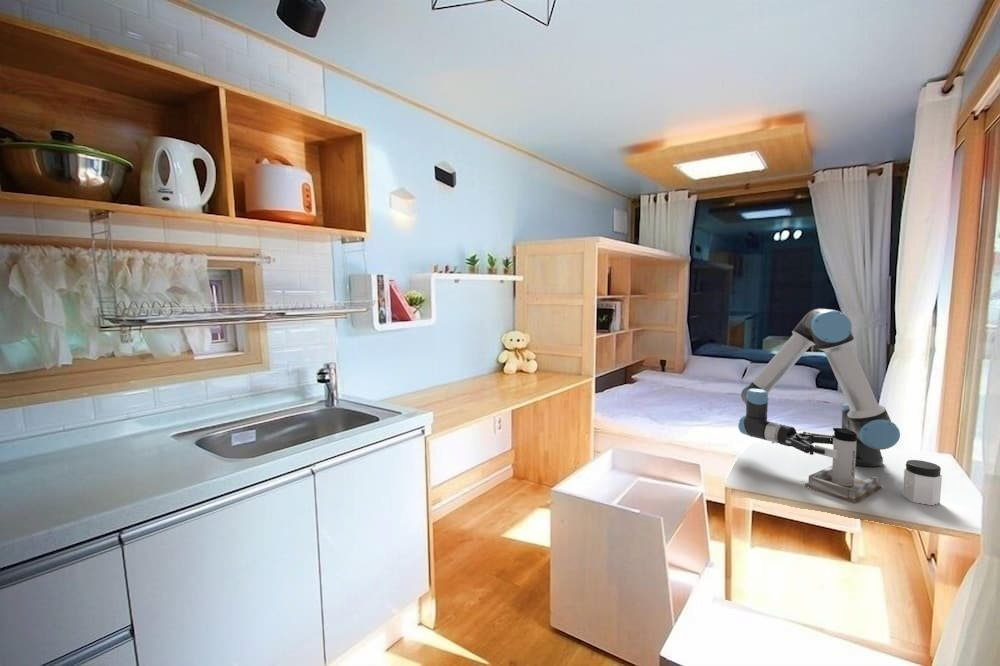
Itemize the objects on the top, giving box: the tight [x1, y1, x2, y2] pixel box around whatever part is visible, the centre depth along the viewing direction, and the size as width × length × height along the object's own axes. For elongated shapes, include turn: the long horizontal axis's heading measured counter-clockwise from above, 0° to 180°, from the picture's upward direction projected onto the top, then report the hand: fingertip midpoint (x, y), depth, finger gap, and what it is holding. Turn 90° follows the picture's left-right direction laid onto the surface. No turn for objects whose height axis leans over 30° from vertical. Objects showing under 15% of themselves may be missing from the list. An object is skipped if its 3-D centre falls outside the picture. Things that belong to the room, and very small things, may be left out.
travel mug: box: [831, 427, 857, 488], centre depth 155 cm, size 6×7×20 cm
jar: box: [902, 459, 943, 506], centre depth 146 cm, size 9×8×12 cm
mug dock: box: [804, 465, 883, 504], centre depth 156 cm, size 20×15×4 cm
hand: (846, 450), depth 154 cm, fingers open, 13 cm apart
